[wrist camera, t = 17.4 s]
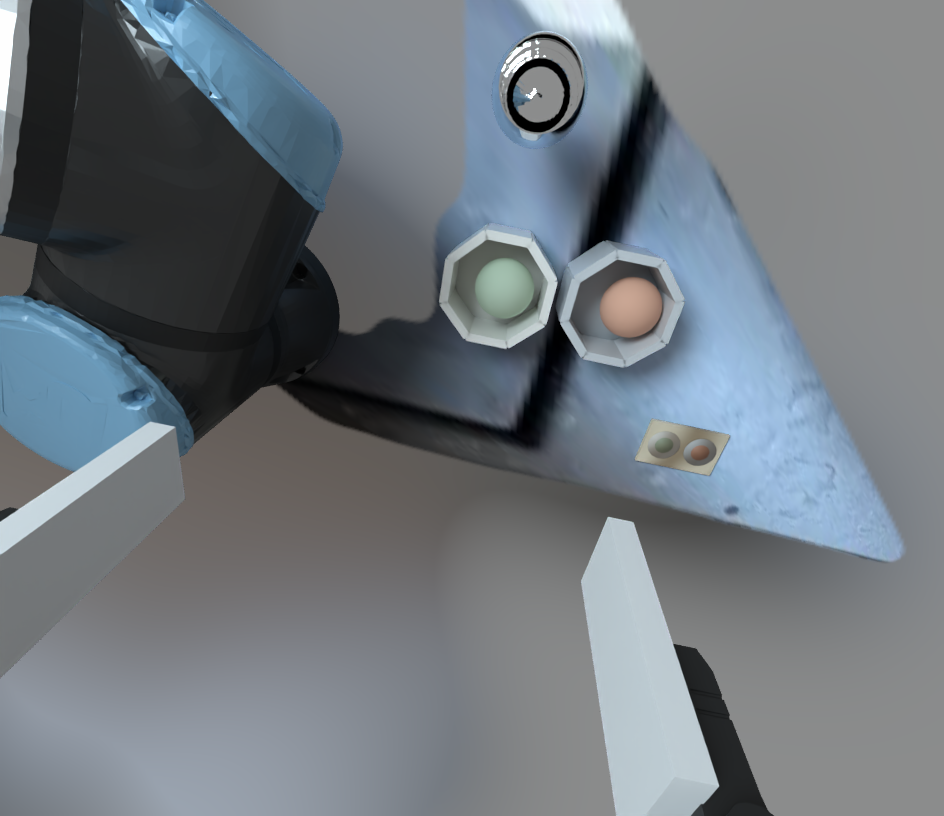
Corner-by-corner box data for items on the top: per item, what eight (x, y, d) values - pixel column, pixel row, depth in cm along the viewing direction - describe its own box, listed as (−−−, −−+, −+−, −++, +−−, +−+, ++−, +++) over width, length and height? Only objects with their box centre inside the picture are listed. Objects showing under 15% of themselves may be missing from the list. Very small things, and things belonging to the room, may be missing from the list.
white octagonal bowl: (443, 316, 44) (434, 333, 39) (459, 216, 40) (450, 221, 35) (536, 335, 44) (537, 355, 39) (561, 237, 40) (567, 246, 35)
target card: (634, 458, 49) (635, 461, 48) (651, 418, 47) (652, 420, 46) (708, 474, 49) (709, 476, 48) (728, 434, 47) (730, 436, 46)
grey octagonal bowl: (547, 332, 44) (551, 352, 39) (574, 233, 39) (582, 241, 35) (640, 352, 44) (655, 374, 39) (677, 255, 39) (699, 266, 35)
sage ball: (466, 304, 42) (474, 322, 37) (476, 247, 39) (487, 259, 35) (518, 312, 43) (532, 330, 38) (531, 257, 41) (548, 269, 36)
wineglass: (490, 80, 35) (477, 39, 24) (565, 55, 34) (586, 0, 23) (506, 163, 37) (501, 158, 27) (577, 142, 36) (601, 128, 26)
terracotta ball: (580, 324, 41) (618, 346, 37) (597, 267, 38) (639, 284, 35) (622, 326, 43) (661, 346, 39) (641, 272, 41) (684, 288, 37)
